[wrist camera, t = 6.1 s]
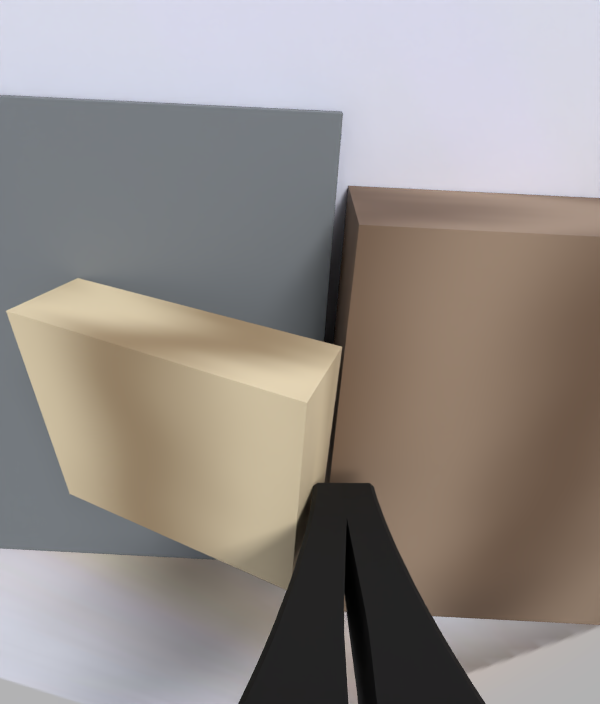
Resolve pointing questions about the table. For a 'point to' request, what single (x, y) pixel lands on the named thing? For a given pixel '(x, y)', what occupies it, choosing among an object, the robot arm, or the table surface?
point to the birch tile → (183, 418)
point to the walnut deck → (476, 394)
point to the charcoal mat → (150, 255)
